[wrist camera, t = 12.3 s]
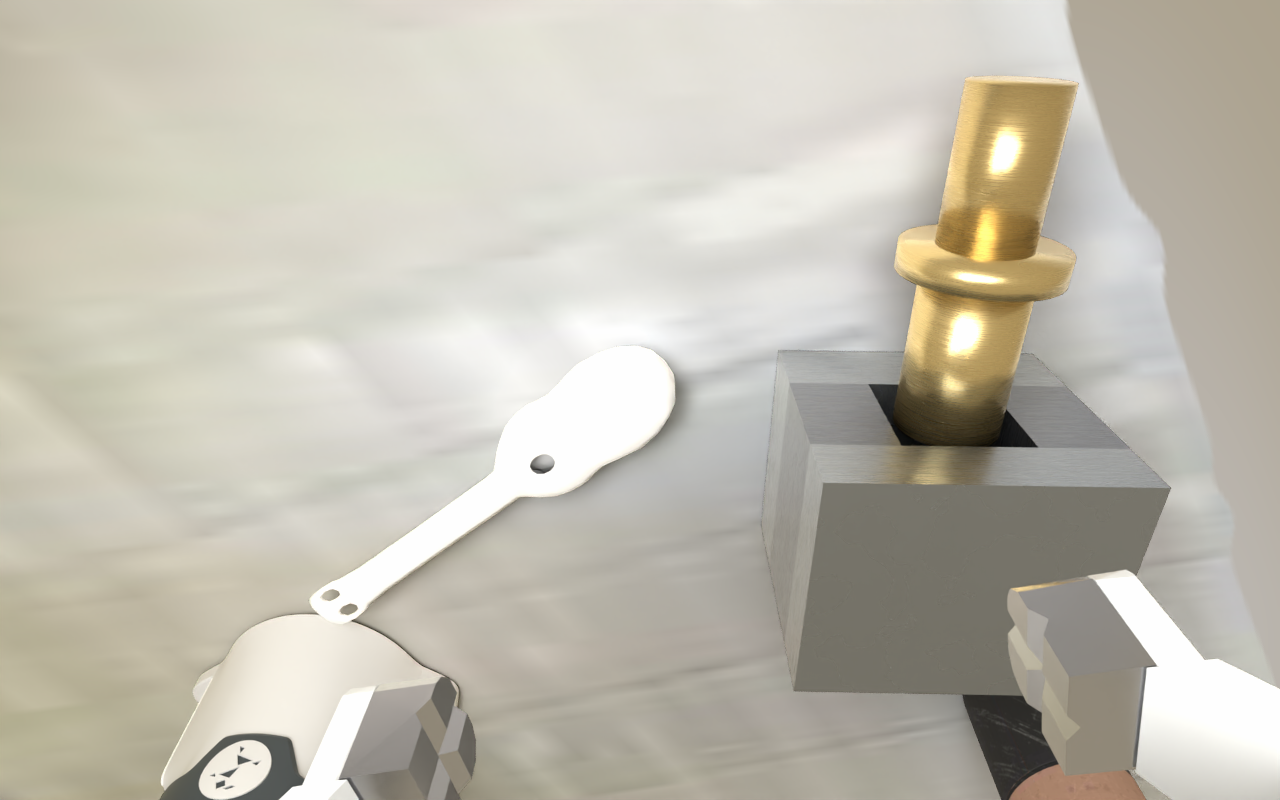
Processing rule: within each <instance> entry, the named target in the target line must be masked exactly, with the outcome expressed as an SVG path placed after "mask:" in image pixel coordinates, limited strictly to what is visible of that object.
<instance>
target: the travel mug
mask: <svg viewBox="0 0 1280 800" xmlns="http://www.w3.org/2000/svg"><path fill="white" fill-rule="evenodd" d="M963 698H964V703H965V706H966V709H967V712H968V715H969V717H970V720H971V723H972V725H973V728H974V730H975V733H976V735H977V738H978V741H979V743H980V746H981V748H982V751H983V753H984V756H985V759H986V761H987V764H988V766H989V769H990V771H991V774H992V777H993V779H994V782H995V784H996V787H997V789H998V792H999V795H1000V797H1001V800H1146V799H1145V797H1144V795H1143V793H1142V792H1141V790H1140V788H1139V787H1138V785H1137V783H1136V782H1135V780H1134V779H1133V777H1132V775H1131V774H1130V772H1129V771H1128V770H1122V771H1112V772H1101V773H1091V774H1081V775H1070V776H1065V775H1064V773H1063V771H1062V769H1061V767H1060V765H1059V763H1058V761H1057V760H1056V758H1055V756H1054V754H1053V752H1052V750H1051V748H1050V746H1049V744H1048V743H1047V741H1046V739H1045V737H1044V735H1043V733H1042V713H1041V712H1040V711H1038V710H1037V709H1035V708H1034V707H1032V706H1030V705H1029V704H1027V702H1026V700H1025V698H1024V696H1017V695H964V694H963Z"/></svg>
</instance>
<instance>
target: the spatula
mask: <svg viewBox="0 0 1280 800" xmlns="http://www.w3.org/2000/svg"><path fill="white" fill-rule="evenodd" d="M674 404H675V379H674V374H673V373H672V371H671V369H670V368H669V366H668V364H667V363H666V361H665V360H664V359H662V358H661V357H660V356H659V355H658V354H656V353H655V352H654V351H653V350H650V349H647V348H643V347H640V346H617V347H614V348H611V349H607V350H604V351H601V352H599V353H597V354H595V355H593V356H592V357H590V358H588V359H586V360H584V361H582V362H580V363H578V364H577V365H576V366H575V367H574V368H573V369H572V370H571V371H570V372H569V373H568V374H567V375H566V376H565V377H564V378H563V379H562V380H561V381H560V382H559V383H558V384H557V386H556V387H555V388H554V389H553V390H552V391H551V392H550V393H549V394H547V395H545V396H544V397H542V398H540V399H538V400H536V401H534V402H532V403H530V404H527V405H526V406H525V407H523V408H522V409H521V410H520V411H518V412H517V413H516V414H515V415H514V416H513V417H512V418H511V420H510V421H509V422H508V424H507V425H506V426H505V428H504V431H503V433H502V436H501V439H500V442H499V446H498V449H497V453H496V458H495V467H494V470H493V472H492V473H491V474H490V475H488V476H487V477H486V478H484V479H483V480H482V481H480V482H479V483H477V484H476V485H475V486H473V487H472V488H471V489H469V490H468V491H466V492H465V493H464V494H462V495H461V496H460V497H458V498H457V499H455V500H454V501H453V502H451V503H450V504H448V505H447V506H446V507H444V508H443V509H441V510H440V511H439V512H437V513H436V514H434V515H433V516H432V517H430V518H429V519H427V520H426V521H425V522H423V523H422V524H420V525H419V526H418V527H416V528H415V529H413V530H412V531H411V532H409V533H408V534H406V535H405V536H403V537H402V538H401V539H399V540H398V541H396V542H395V543H393V544H392V545H391V546H389V547H388V548H386V549H385V550H383V551H382V552H380V553H379V554H378V555H376V556H375V557H373V558H372V559H370V560H369V561H368V562H366V563H365V564H363V565H362V566H360V567H359V568H357V569H356V570H354V571H352V572H350V573H349V574H347V575H345V576H344V577H342V578H340V579H338V580H335V581H332V582H330V583H329V584H327V585H325V586H323V587H322V588H321V589H320V590H318V591H317V592H316V593H315V594H313V595H312V597H311V598H310V599H309V603H310V605H311V607H312V608H313V609H314V610H315V611H316V612H317V613H318V614H319V615H320V616H321V617H323V618H324V619H326V620H328V621H329V622H331V623H334V624H338V625H343V624H345V623H348V622H350V621H351V620H353V619H355V618H357V617H358V616H359V615H360V614H362V613H363V612H364V611H365V610H367V608H368V607H369V605H370V604H371V603H373V602H374V601H375V600H376V599H377V598H379V597H380V596H381V595H382V594H383V593H385V592H386V591H387V590H388V589H390V588H391V587H393V586H394V585H395V584H397V583H398V582H400V581H401V580H403V579H404V578H405V577H407V576H408V575H410V574H411V573H412V572H414V571H415V570H417V569H418V568H420V567H421V566H422V565H424V564H425V563H427V562H428V561H430V560H431V559H432V558H434V557H435V556H437V555H438V554H439V553H441V552H442V551H444V550H445V549H447V548H448V547H450V546H451V545H452V544H454V543H455V542H457V541H458V540H460V539H461V538H463V537H464V536H466V535H467V534H468V533H470V532H471V531H473V530H474V529H476V528H477V527H479V526H480V525H481V524H483V523H484V522H486V521H487V520H489V519H490V518H492V517H493V516H494V515H496V514H497V513H499V512H500V511H502V510H503V509H504V508H506V507H507V506H509V505H510V504H511V503H513V502H514V501H516V500H517V499H518V498H519V497H551V496H559V495H562V494H564V493H567V492H570V491H572V490H575V489H576V488H578V487H579V486H581V485H582V484H584V483H585V482H587V481H588V480H589V479H590V478H591V477H592V476H593V475H594V474H595V473H596V472H597V471H598V470H599V469H600V468H602V467H603V466H604V465H606V464H608V463H611V462H613V461H615V460H618V459H620V458H622V457H624V456H627V455H629V454H631V453H633V452H635V451H637V450H639V449H641V448H643V447H644V446H645V445H646V444H647V443H648V442H649V441H650V440H651V439H652V438H654V437H655V436H656V435H657V434H658V433H659V431H660V430H661V428H662V427H663V425H664V424H665V423H666V421H667V420H668V418H669V417H670V414H671V412H672V409H673V407H674ZM331 589H334V590H337V591H339V593H340V595H339V597H338V598H336V599H333V600H331V601H328V600H325V599H323V597H322V595H323V594H324V592H326V591H328V590H331ZM350 603H351V604H354V605H357V607H358V610H357V611H356V612H354V613H352V614H349V615H346V614H343V613H341V610H340V609H341V608H342V607H343V606H345V605H348V604H350Z"/></svg>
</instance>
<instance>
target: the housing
mask: <svg viewBox="0 0 1280 800" xmlns="http://www.w3.org/2000/svg"><path fill="white" fill-rule="evenodd" d="M903 357H904V352H855V351H779V350H778V359H777V369H776V379H775V390H774V400H773V410H772V420H771V430H770V440H769V450H768V460H767V470H766V480H765V490H764V501H763V511H762V521H761V527H762V532H763V537H764V542H765V548H766V553H767V558H768V563H769V568H770V573H771V578H772V583H773V588H774V593H775V599H776V604H777V609H778V614H779V619H780V624H781V629H782V634H783V639H784V644H785V649H786V655H787V660H788V665H789V670H790V675H791V680H792V685H793V690H794V691H806V692H859V693H912V694H964V695H1017V696H1023V694H1022V692H1021V690H1020V688H1019V686H1018V683H1017V681H1016V678H1015V675H1014V673H1013V669H1012V665H1011V660H1010V656H1009V650H1008V633H1009V632H1010V631H1011V629H1012V628H1013V627H1014V626H1015V623H1014V621H1013V619H1012V617H1011V616H1010V614H1009V612H1008V610H1007V599H1008V593H1009V591H1010V589H1011V588H1017V587H1023V586H1029V585H1035V584H1041V583H1047V582H1053V581H1059V580H1065V579H1072V578H1078V577H1086V576H1090V575H1096V574H1102V573H1108V572H1114V571H1120V570H1128V571H1129V572H1131V573H1133V574H1134V575H1135V576H1136V575H1137V573H1138V570H1139V567H1140V565H1141V562H1142V560H1143V557H1144V555H1145V552H1146V550H1147V547H1148V545H1149V542H1150V540H1151V537H1152V535H1153V532H1154V530H1155V527H1156V525H1157V522H1158V520H1159V517H1160V515H1161V512H1162V510H1163V507H1164V505H1165V502H1166V499H1167V497H1168V494H1169V492H1170V489H1171V488H1170V487H1169V486H1168V485H1167V484H1166V483H1165V482H1164V481H1163V480H1162V479H1161V478H1160V477H1159V476H1158V475H1157V474H1156V473H1155V472H1154V471H1153V470H1152V469H1151V468H1150V467H1149V466H1148V465H1147V464H1146V463H1145V462H1144V461H1143V460H1142V459H1140V458H1139V457H1138V456H1137V455H1136V454H1135V453H1134V452H1133V451H1132V450H1131V449H1130V448H1129V447H1128V446H1127V445H1126V444H1125V443H1124V442H1123V441H1122V440H1121V439H1120V438H1119V437H1118V436H1117V435H1116V434H1115V433H1114V432H1113V431H1112V430H1111V429H1110V428H1108V427H1107V426H1106V425H1105V424H1104V423H1103V422H1102V421H1101V420H1100V419H1099V418H1098V417H1097V416H1096V415H1095V414H1094V413H1093V412H1092V411H1091V410H1090V409H1089V408H1088V407H1087V406H1086V405H1085V404H1084V403H1083V402H1082V401H1081V400H1080V399H1079V398H1078V397H1076V396H1075V395H1074V394H1073V393H1072V392H1071V391H1070V390H1069V389H1068V388H1067V387H1066V386H1065V385H1064V384H1063V383H1062V382H1061V381H1060V380H1059V379H1058V378H1057V377H1056V376H1055V375H1054V374H1053V373H1052V372H1051V371H1050V370H1049V369H1048V368H1047V367H1045V366H1044V365H1043V364H1042V363H1041V362H1040V361H1039V360H1038V359H1037V358H1036V357H1035V356H1034V355H1033V354H1020V358H1019V361H1018V365H1017V369H1016V373H1015V377H1014V381H1013V384H1012V388H1011V392H1010V396H1009V400H1008V404H1007V407H1006V411H1005V415H1004V419H1003V423H1002V427H1001V430H1000V434H999V438H998V440H997V441H996V442H995V443H994V444H992V445H991V446H988V447H960V446H930V445H927V444H924V443H921V442H919V441H917V440H914V439H912V438H911V437H909V436H907V435H906V434H904V433H903V432H902V431H900V430H899V429H898V428H897V426H896V425H895V424H894V421H893V411H894V406H895V400H896V395H897V390H898V384H899V379H900V373H901V368H902V362H903Z"/></svg>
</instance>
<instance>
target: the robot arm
mask: <svg viewBox="0 0 1280 800" xmlns="http://www.w3.org/2000/svg"><path fill="white" fill-rule="evenodd" d="M1007 610H1008V612H1009V614H1010V616H1011V617H1012V619H1013V621H1014V623H1015V626H1014V627H1013V628H1012V629H1011V631H1010V632H1009V633H1008V650H1009V656H1010V660H1011V665H1012V669H1013V673H1014V675H1015V678H1016V681H1017V683H1018V686H1019V688H1020V690H1021V692H1022V694H1023V696H1024V698H1025V700H1026V702H1027V704H1029V705H1030V706H1032V707H1034V708H1035V709H1037V710H1038V711H1040V712H1041V713H1042V733H1043V735H1044V737H1045V739H1046V741H1047V743H1048V744H1049V746H1050V748H1051V750H1052V752H1053V754H1054V756H1055V758H1056V760H1057V761H1058V763H1059V765H1060V767H1061V769H1062V771H1063V773H1064V775H1065V776H1070V775H1081V774H1091V773H1101V772H1112V771H1122V770H1133V769H1136V773H1137V774H1138V775H1139V776H1141V777H1142V778H1143V779H1145V780H1146V781H1147V782H1148V783H1150V784H1151V785H1152V786H1154V787H1155V788H1156V789H1158V790H1159V791H1160V792H1162V793H1163V794H1164V795H1165V796H1167V797H1168V798H1169V799H1171V800H1280V689H1279V688H1277V687H1275V686H1273V685H1271V684H1269V683H1267V682H1265V681H1263V680H1261V679H1259V678H1257V677H1254V676H1252V675H1250V674H1248V673H1246V672H1244V671H1242V670H1240V669H1238V668H1236V667H1234V666H1232V665H1230V664H1228V663H1226V662H1224V661H1222V660H1220V659H1211V660H1205V659H1204V658H1203V657H1202V655H1201V654H1200V653H1199V652H1198V651H1197V649H1196V648H1195V647H1194V646H1193V645H1192V643H1191V642H1190V641H1189V640H1188V639H1187V637H1186V636H1185V635H1184V634H1183V632H1182V631H1181V630H1180V629H1179V628H1178V626H1177V625H1176V624H1175V623H1174V622H1173V620H1172V619H1171V618H1170V617H1169V616H1168V614H1167V613H1166V612H1165V611H1164V610H1163V608H1162V607H1161V606H1160V605H1159V604H1158V602H1157V601H1156V600H1155V599H1154V598H1153V596H1152V595H1151V594H1150V593H1149V591H1148V590H1147V589H1146V588H1145V587H1144V585H1143V584H1142V583H1141V582H1140V581H1139V579H1138V578H1137V577H1136V576H1135V575H1134V574H1133V573H1131V572H1129V571H1128V570H1120V571H1114V572H1108V573H1102V574H1096V575H1090V576H1086V577H1078V578H1072V579H1065V580H1059V581H1053V582H1047V583H1041V584H1035V585H1029V586H1023V587H1017V588H1011V589H1010V591H1009V593H1008V599H1007ZM193 696H194V698H195V699H196V701H197V703H198V705H197V707H196V709H195V711H194V713H193V715H192V717H191V719H190V721H189V722H188V724H187V726H186V728H185V730H184V732H183V734H182V736H181V738H180V740H179V742H178V744H177V746H176V748H175V750H174V752H173V753H172V755H171V757H170V759H169V761H168V763H167V765H166V767H165V769H164V771H163V774H162V777H161V785H162V786H163V788H164V793H163V795H162V796H161V798H160V800H461V799H460V797H459V795H458V794H459V793H460V792H461V791H462V790H463V788H464V787H465V786H466V785H467V784H468V783H469V781H470V780H471V779H472V775H473V770H474V766H475V761H476V739H475V735H474V730H473V726H472V723H471V721H470V719H469V717H468V715H467V713H465V712H464V711H462V710H461V709H459V708H457V705H458V697H459V689H458V686H457V685H456V684H455V683H454V682H453V681H452V680H450V679H449V678H447V677H445V676H443V675H441V674H438V673H436V672H434V671H432V670H430V669H427V668H425V667H423V666H421V665H420V664H419V663H417V662H416V661H415V660H414V659H413V658H411V657H410V656H409V655H408V654H407V653H406V652H405V651H404V650H403V649H402V648H400V647H399V646H398V645H397V644H395V643H394V642H393V641H391V640H390V639H388V638H387V637H385V636H383V635H382V634H380V633H378V632H376V631H374V630H372V629H370V628H368V627H365V626H363V625H360V624H358V623H355V622H352V621H350V622H348V623H345V624H343V625H338V624H334V623H331V622H329V621H328V620H326V619H324V618H323V617H321V616H320V615H312V614H299V615H288V616H282V617H277V618H273V619H270V620H267V621H264V622H262V623H259V624H257V625H255V626H254V627H252V628H250V629H249V630H247V631H246V632H245V633H243V634H242V635H241V636H240V637H239V638H238V639H237V641H236V642H235V643H234V645H233V646H232V648H231V650H230V651H229V653H228V655H227V657H226V658H225V659H224V661H223V662H222V663H220V664H218V665H216V666H214V667H213V668H211V669H209V670H207V671H206V672H204V673H203V674H202V675H201V676H200V677H199V678H198V680H197V682H196V684H195V686H194V688H193Z"/></svg>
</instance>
